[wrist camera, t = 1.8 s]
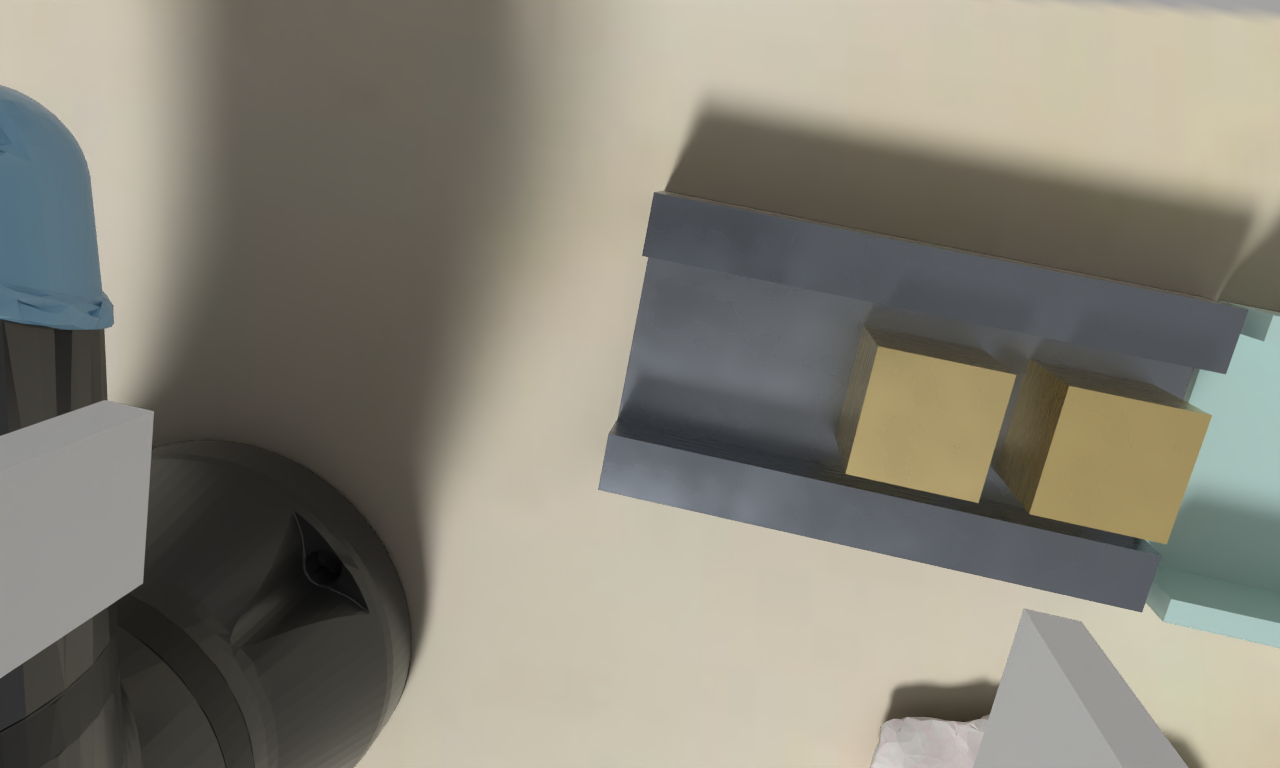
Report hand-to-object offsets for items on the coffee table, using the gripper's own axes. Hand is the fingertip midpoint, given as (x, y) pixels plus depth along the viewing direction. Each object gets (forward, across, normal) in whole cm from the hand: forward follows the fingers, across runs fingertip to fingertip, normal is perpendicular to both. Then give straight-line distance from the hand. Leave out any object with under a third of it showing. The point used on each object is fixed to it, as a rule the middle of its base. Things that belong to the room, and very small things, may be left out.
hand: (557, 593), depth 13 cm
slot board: (+20, +8, 0) cm, 22 cm away
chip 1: (+19, +8, 0) cm, 21 cm away
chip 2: (+19, +14, 0) cm, 24 cm away
